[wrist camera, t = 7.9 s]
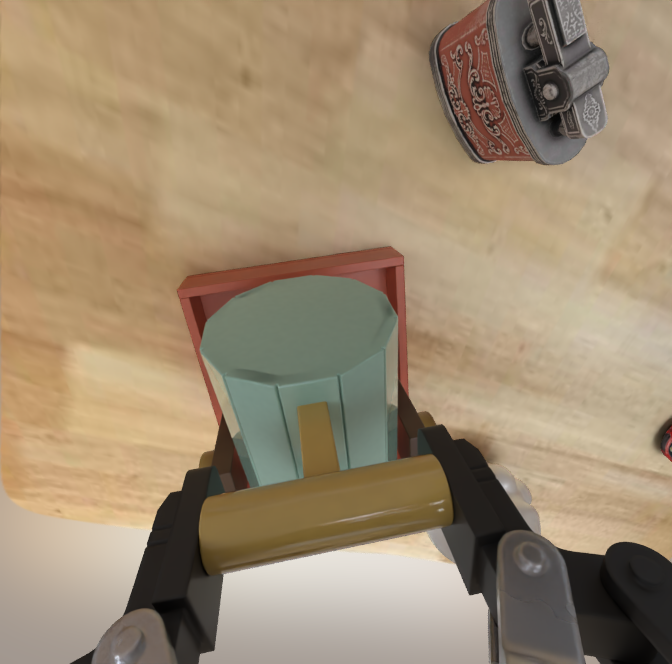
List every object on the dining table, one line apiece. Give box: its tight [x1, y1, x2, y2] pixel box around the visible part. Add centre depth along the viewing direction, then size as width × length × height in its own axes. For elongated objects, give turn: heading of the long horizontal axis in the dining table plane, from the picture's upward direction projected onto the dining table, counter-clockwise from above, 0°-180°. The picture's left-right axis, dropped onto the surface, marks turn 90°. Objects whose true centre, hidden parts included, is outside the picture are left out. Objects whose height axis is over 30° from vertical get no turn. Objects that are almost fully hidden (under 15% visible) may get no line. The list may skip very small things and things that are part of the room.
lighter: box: [429, 0, 609, 165], centre depth 19 cm, size 8×3×10 cm, turn 33°
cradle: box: [199, 379, 436, 493], centre depth 24 cm, size 6×12×12 cm, turn 96°
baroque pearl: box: [426, 462, 541, 563], centre depth 32 cm, size 9×10×10 cm
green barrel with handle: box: [199, 275, 454, 576], centre depth 16 cm, size 12×7×10 cm
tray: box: [177, 246, 409, 488], centre depth 29 cm, size 21×14×3 cm
